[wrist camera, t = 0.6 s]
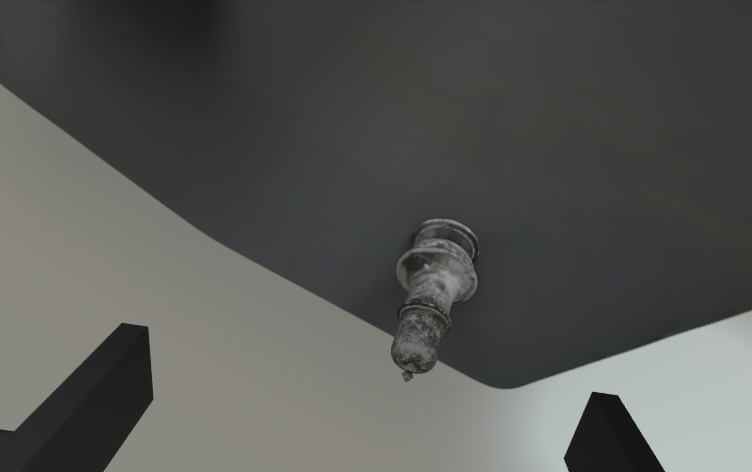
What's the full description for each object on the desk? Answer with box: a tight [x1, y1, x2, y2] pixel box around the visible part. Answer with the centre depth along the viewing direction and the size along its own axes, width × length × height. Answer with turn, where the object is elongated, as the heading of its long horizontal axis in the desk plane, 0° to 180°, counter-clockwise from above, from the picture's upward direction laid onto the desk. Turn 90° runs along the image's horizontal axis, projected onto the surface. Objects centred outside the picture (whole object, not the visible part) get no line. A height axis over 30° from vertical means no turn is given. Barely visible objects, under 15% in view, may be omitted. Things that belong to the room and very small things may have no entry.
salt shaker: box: [391, 219, 480, 382], centre depth 31 cm, size 6×6×12 cm
